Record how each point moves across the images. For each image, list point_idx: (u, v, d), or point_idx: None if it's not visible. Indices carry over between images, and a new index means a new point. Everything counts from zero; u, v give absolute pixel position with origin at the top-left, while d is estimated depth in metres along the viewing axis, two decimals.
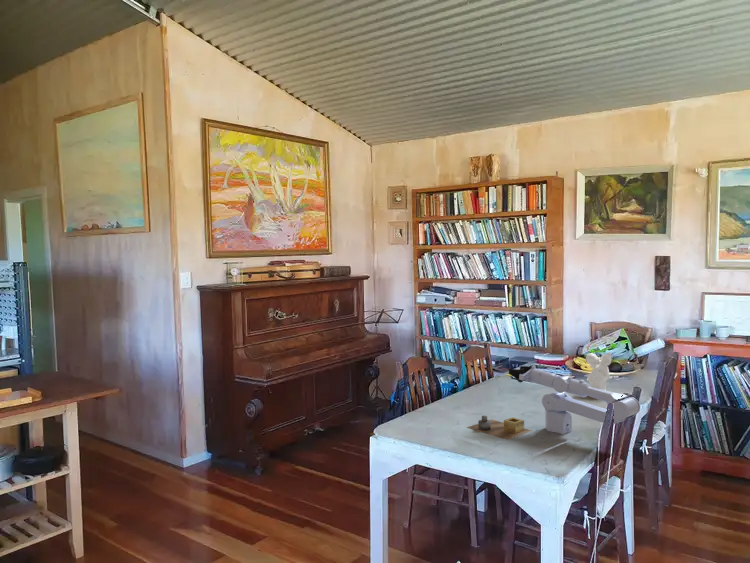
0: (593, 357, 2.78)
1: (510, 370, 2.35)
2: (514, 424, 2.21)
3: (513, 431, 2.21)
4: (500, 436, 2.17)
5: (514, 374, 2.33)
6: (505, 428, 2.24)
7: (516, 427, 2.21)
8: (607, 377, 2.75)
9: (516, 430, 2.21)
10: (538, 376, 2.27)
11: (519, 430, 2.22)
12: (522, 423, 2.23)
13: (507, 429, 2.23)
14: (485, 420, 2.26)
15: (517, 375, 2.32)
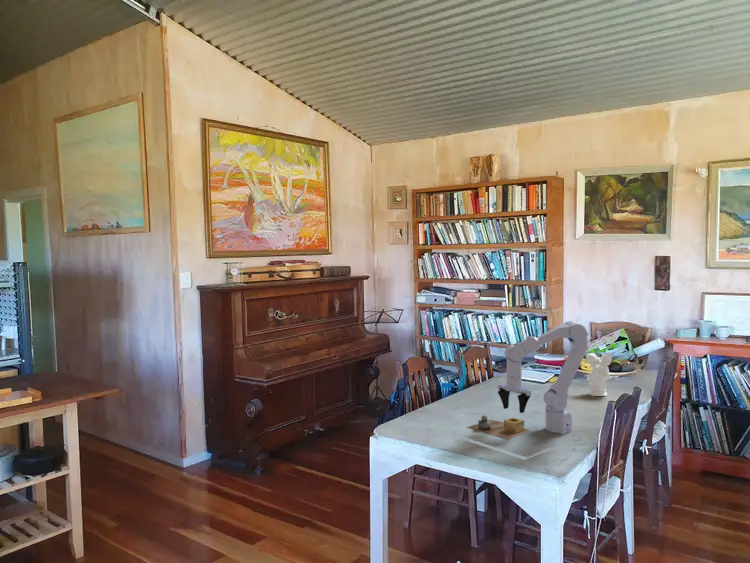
0: (593, 357, 2.78)
1: (522, 410, 2.20)
2: (514, 424, 2.21)
3: (513, 431, 2.21)
4: (500, 436, 2.17)
5: (524, 404, 2.21)
6: (505, 428, 2.24)
7: (516, 427, 2.21)
8: (607, 377, 2.75)
9: (516, 430, 2.21)
10: (518, 378, 2.21)
11: (519, 430, 2.22)
12: (522, 423, 2.23)
13: (507, 429, 2.23)
14: (485, 420, 2.26)
15: (524, 401, 2.21)
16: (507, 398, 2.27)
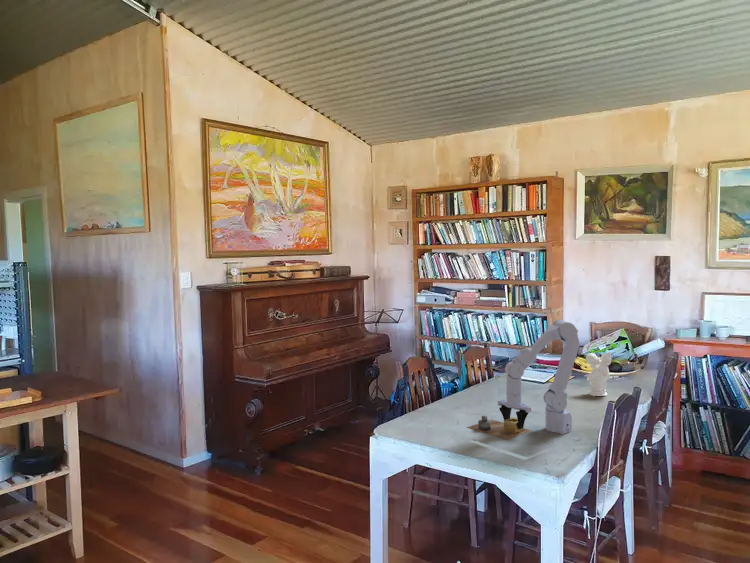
0: (593, 357, 2.78)
1: (520, 427, 2.21)
2: (514, 424, 2.21)
3: (513, 431, 2.21)
4: (500, 436, 2.17)
5: (522, 421, 2.22)
6: (505, 428, 2.24)
7: (516, 427, 2.21)
8: (607, 377, 2.75)
9: (516, 430, 2.21)
10: (518, 395, 2.21)
11: (519, 430, 2.22)
12: None
13: (507, 429, 2.23)
14: (485, 420, 2.26)
15: (522, 417, 2.22)
16: (509, 415, 2.27)
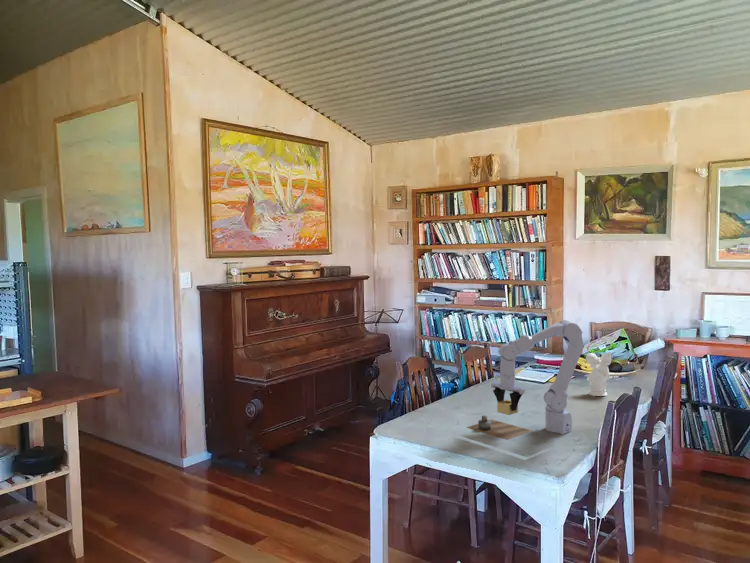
0: (593, 357, 2.78)
1: (513, 408, 2.21)
2: (507, 406, 2.21)
3: (506, 413, 2.21)
4: (500, 436, 2.17)
5: (515, 402, 2.22)
6: (499, 410, 2.24)
7: (509, 409, 2.21)
8: (607, 377, 2.75)
9: (509, 412, 2.21)
10: (511, 377, 2.21)
11: (512, 412, 2.22)
12: None
13: (501, 411, 2.23)
14: (485, 420, 2.26)
15: (516, 399, 2.22)
16: (502, 397, 2.27)
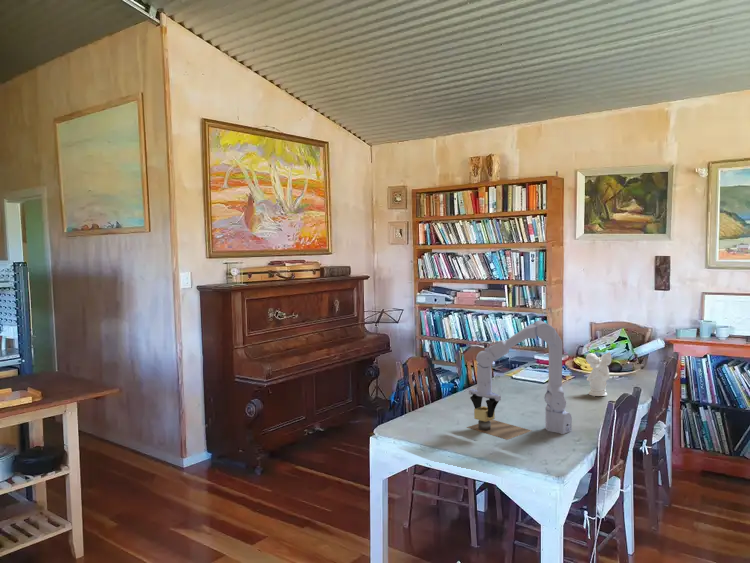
0: (593, 357, 2.78)
1: (490, 415, 2.23)
2: (484, 412, 2.23)
3: (483, 419, 2.23)
4: (500, 436, 2.17)
5: (492, 409, 2.24)
6: (476, 416, 2.26)
7: (486, 415, 2.23)
8: (607, 377, 2.75)
9: (486, 418, 2.23)
10: (488, 384, 2.23)
11: (489, 418, 2.24)
12: None
13: (477, 417, 2.25)
14: None
15: (492, 405, 2.24)
16: (479, 403, 2.29)
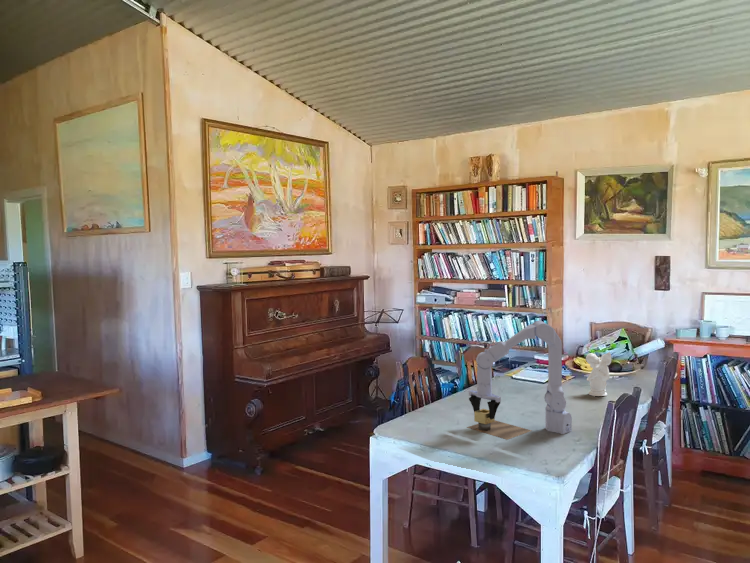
0: (593, 357, 2.78)
1: (492, 417, 2.23)
2: (484, 415, 2.23)
3: (483, 422, 2.23)
4: (500, 436, 2.17)
5: (494, 411, 2.23)
6: (476, 419, 2.26)
7: (486, 418, 2.23)
8: (607, 377, 2.75)
9: (486, 421, 2.23)
10: (488, 385, 2.23)
11: (489, 421, 2.24)
12: None
13: (477, 420, 2.26)
14: None
15: (494, 407, 2.23)
16: (478, 404, 2.30)
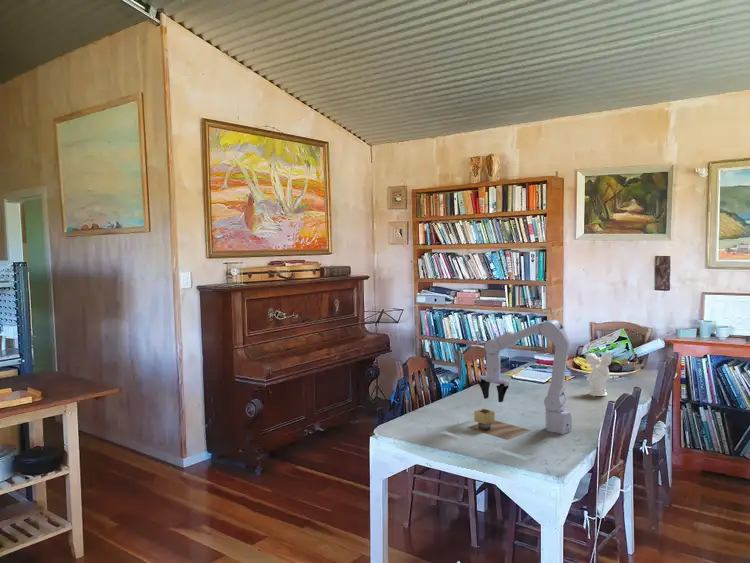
0: (593, 357, 2.78)
1: (500, 400, 2.34)
2: (484, 415, 2.23)
3: (483, 422, 2.23)
4: (500, 436, 2.17)
5: (502, 394, 2.35)
6: (476, 419, 2.26)
7: (486, 418, 2.23)
8: (607, 377, 2.75)
9: (486, 421, 2.23)
10: (497, 370, 2.34)
11: (489, 421, 2.24)
12: (492, 414, 2.25)
13: (477, 420, 2.26)
14: None
15: (502, 391, 2.35)
16: (487, 389, 2.41)
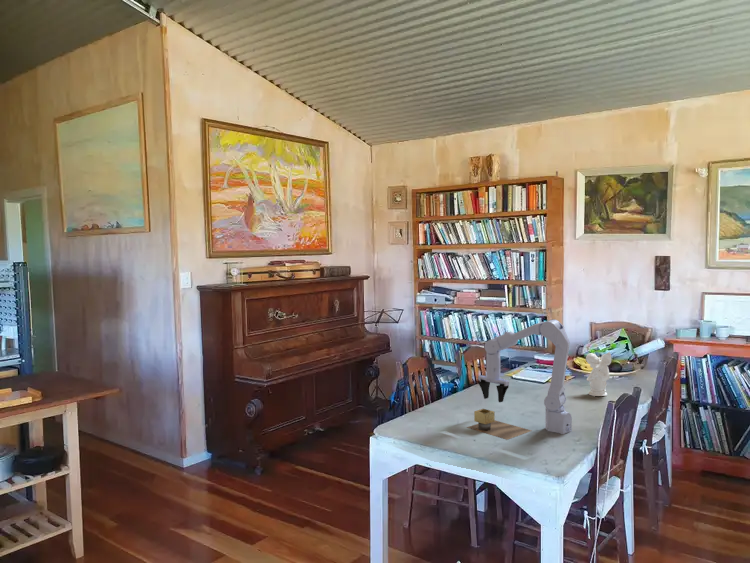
0: (593, 357, 2.78)
1: (500, 400, 2.34)
2: (484, 415, 2.23)
3: (483, 422, 2.23)
4: (500, 436, 2.17)
5: (502, 394, 2.35)
6: (476, 419, 2.26)
7: (486, 418, 2.23)
8: (607, 377, 2.75)
9: (486, 421, 2.23)
10: (497, 370, 2.34)
11: (489, 421, 2.24)
12: (492, 414, 2.25)
13: (477, 420, 2.26)
14: None
15: (502, 391, 2.35)
16: (487, 389, 2.41)
